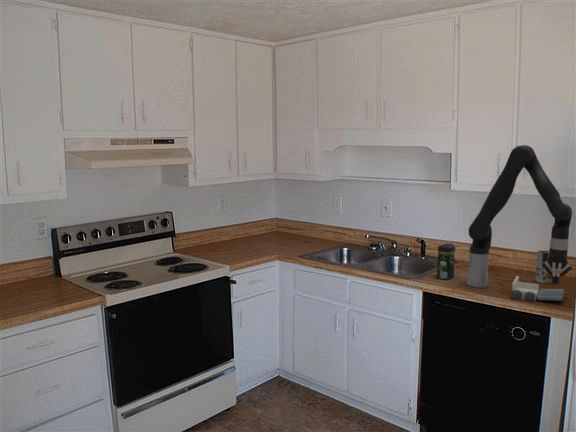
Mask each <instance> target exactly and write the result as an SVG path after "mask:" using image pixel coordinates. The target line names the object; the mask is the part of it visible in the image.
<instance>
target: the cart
mask: <svg viewBox="0 0 576 432" xmlns="http://www.w3.org/2000/svg"><path fill="white" fill-rule="evenodd" d="M519 277H520V276H519V275H516V276H515V278H514V280H513V282H512V283H511V298H510V299H514V300H517V301H518V300H522V301H527V302H536V300H537V299H538V298H537V295H538V293H539V290H540V285H539V284H537V283H527V282H520V278H519Z"/></svg>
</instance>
